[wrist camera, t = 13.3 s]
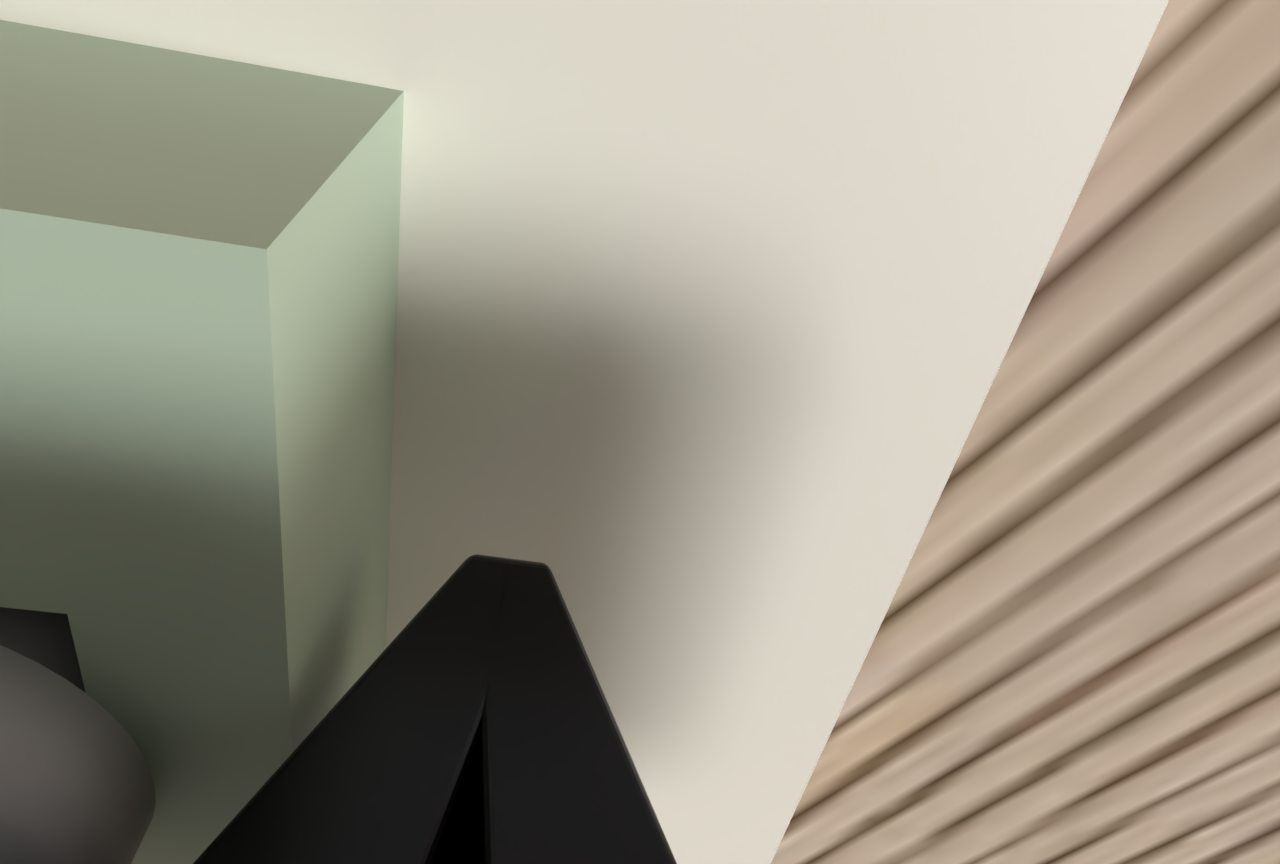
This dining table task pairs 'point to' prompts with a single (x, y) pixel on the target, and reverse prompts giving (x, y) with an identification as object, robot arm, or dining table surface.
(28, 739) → the board
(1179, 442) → the dining table surface
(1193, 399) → the dining table surface
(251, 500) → the panel
